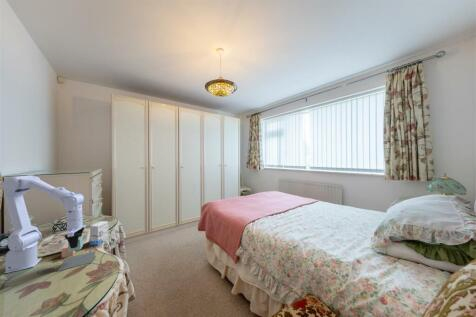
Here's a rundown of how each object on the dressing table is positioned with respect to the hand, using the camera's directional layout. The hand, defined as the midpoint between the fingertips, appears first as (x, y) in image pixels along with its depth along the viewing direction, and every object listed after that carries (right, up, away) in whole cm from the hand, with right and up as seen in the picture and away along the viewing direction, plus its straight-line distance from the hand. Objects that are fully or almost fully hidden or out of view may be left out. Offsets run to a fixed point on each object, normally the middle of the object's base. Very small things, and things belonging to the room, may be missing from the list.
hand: (75, 245), depth 89 cm
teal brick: (0, -2, 0) cm, 2 cm away
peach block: (-10, -9, +7) cm, 15 cm away
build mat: (0, -8, +1) cm, 8 cm away
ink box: (-4, -8, +21) cm, 23 cm away
